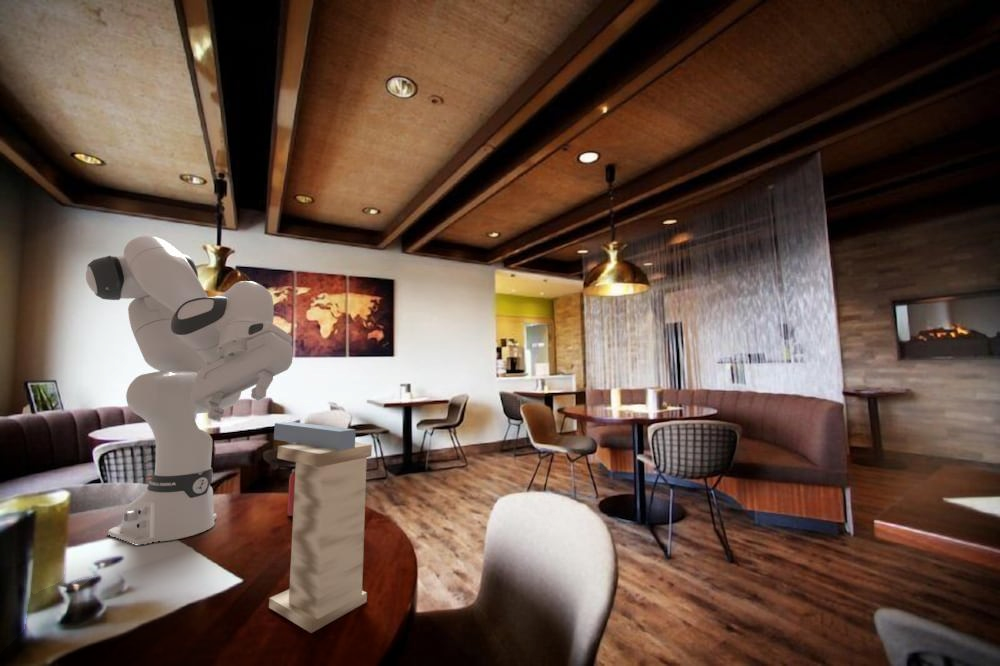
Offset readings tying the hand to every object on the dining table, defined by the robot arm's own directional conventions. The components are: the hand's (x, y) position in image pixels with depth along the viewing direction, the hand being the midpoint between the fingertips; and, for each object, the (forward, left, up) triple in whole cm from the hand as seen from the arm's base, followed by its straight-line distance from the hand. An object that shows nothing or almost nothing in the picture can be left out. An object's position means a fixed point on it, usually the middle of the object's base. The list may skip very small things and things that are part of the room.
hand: (236, 408), depth 72 cm
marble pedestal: (+17, +3, -32) cm, 36 cm away
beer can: (-19, +39, -32) cm, 54 cm away
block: (+13, +4, -6) cm, 15 cm away
